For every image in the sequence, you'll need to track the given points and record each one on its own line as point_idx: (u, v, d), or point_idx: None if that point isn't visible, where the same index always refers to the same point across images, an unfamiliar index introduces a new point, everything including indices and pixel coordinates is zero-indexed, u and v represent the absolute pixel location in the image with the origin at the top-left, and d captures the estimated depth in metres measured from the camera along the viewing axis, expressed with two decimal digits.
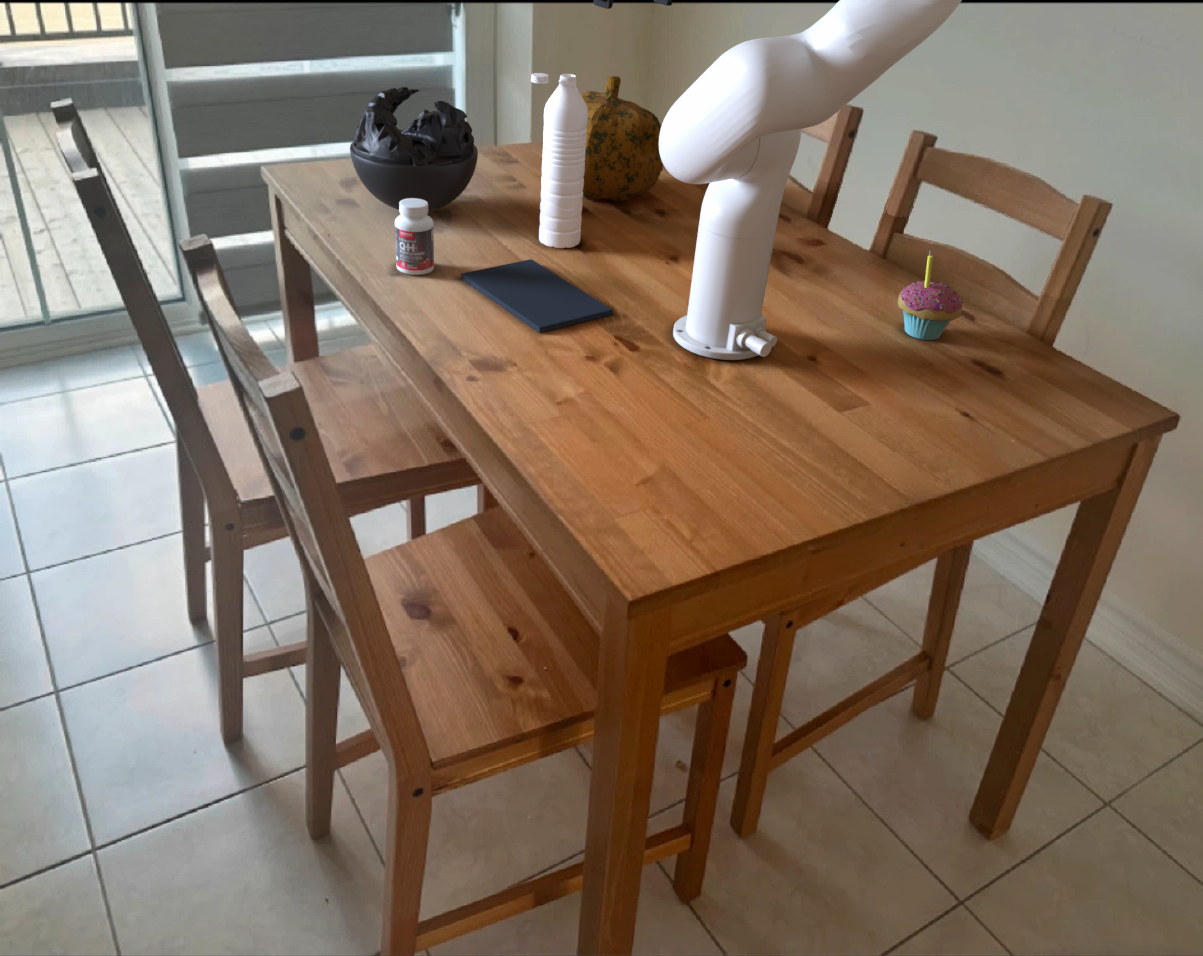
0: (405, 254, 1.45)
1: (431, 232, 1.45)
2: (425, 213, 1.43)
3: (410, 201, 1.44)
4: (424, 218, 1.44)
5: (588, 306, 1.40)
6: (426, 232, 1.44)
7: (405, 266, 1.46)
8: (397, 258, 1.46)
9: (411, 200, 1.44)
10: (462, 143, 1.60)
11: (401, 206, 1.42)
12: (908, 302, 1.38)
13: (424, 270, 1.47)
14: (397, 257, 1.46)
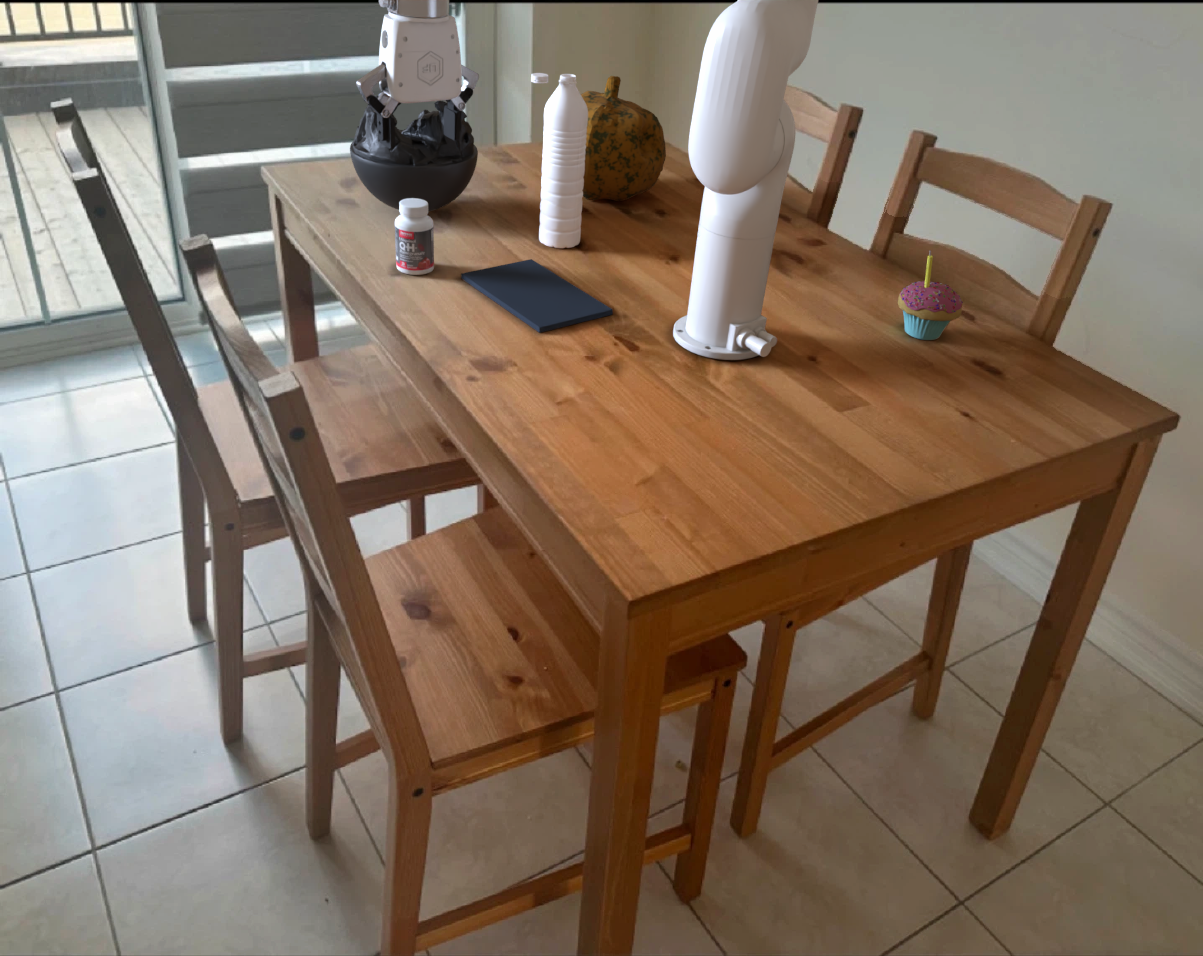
0: (405, 254, 1.45)
1: (431, 232, 1.45)
2: (425, 213, 1.43)
3: (410, 201, 1.44)
4: (424, 218, 1.44)
5: (588, 306, 1.40)
6: (426, 232, 1.44)
7: (405, 266, 1.46)
8: (397, 258, 1.46)
9: (411, 200, 1.44)
10: (462, 143, 1.60)
11: (401, 206, 1.42)
12: (908, 303, 1.38)
13: (424, 270, 1.47)
14: (397, 257, 1.46)
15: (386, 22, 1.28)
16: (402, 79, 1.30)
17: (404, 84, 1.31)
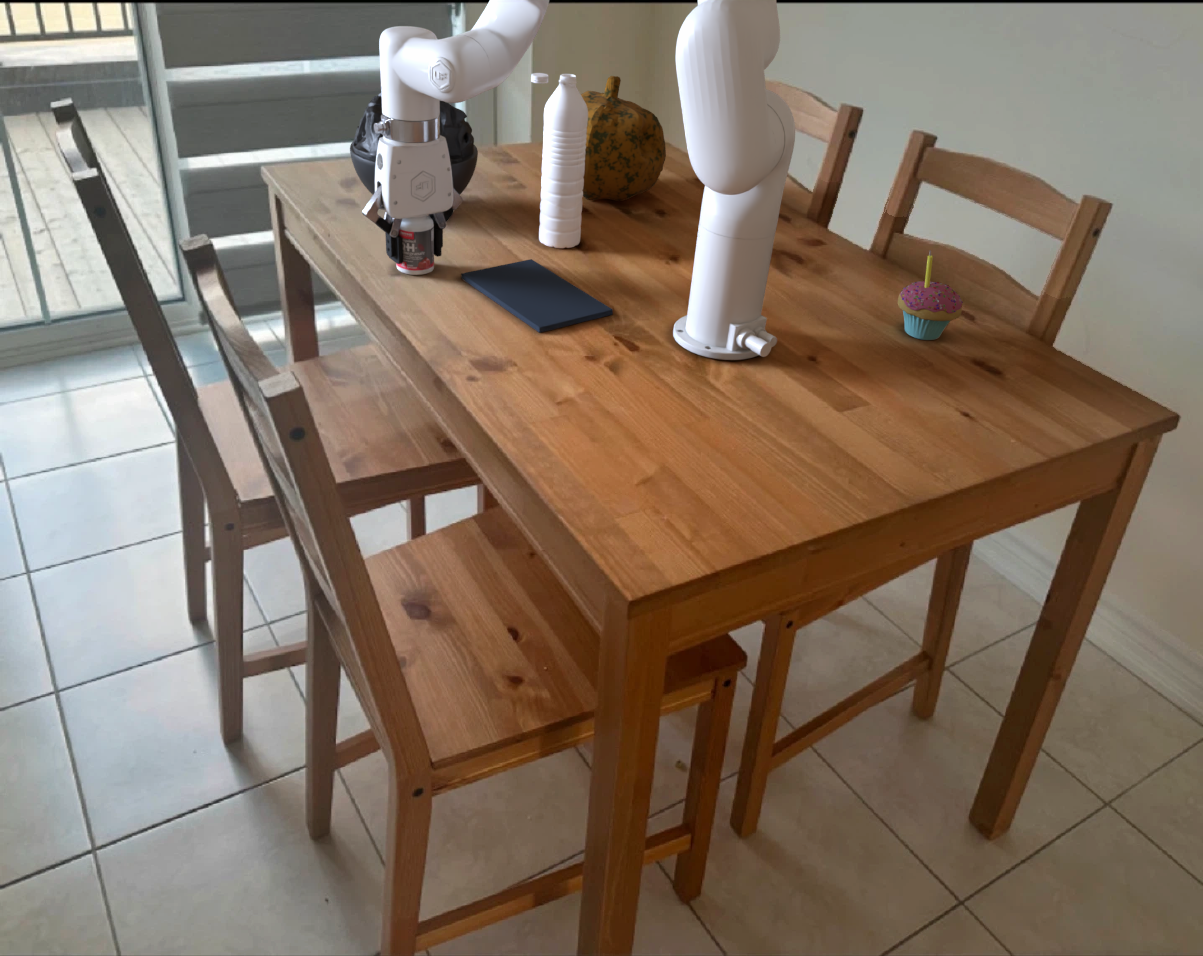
0: (405, 254, 1.45)
1: (431, 232, 1.45)
2: None
3: None
4: (424, 218, 1.44)
5: (588, 306, 1.40)
6: (426, 232, 1.44)
7: (405, 266, 1.46)
8: None
9: None
10: (462, 143, 1.60)
11: None
12: (908, 302, 1.38)
13: (424, 270, 1.47)
14: None
15: (381, 146, 1.36)
16: (397, 198, 1.39)
17: (399, 202, 1.39)
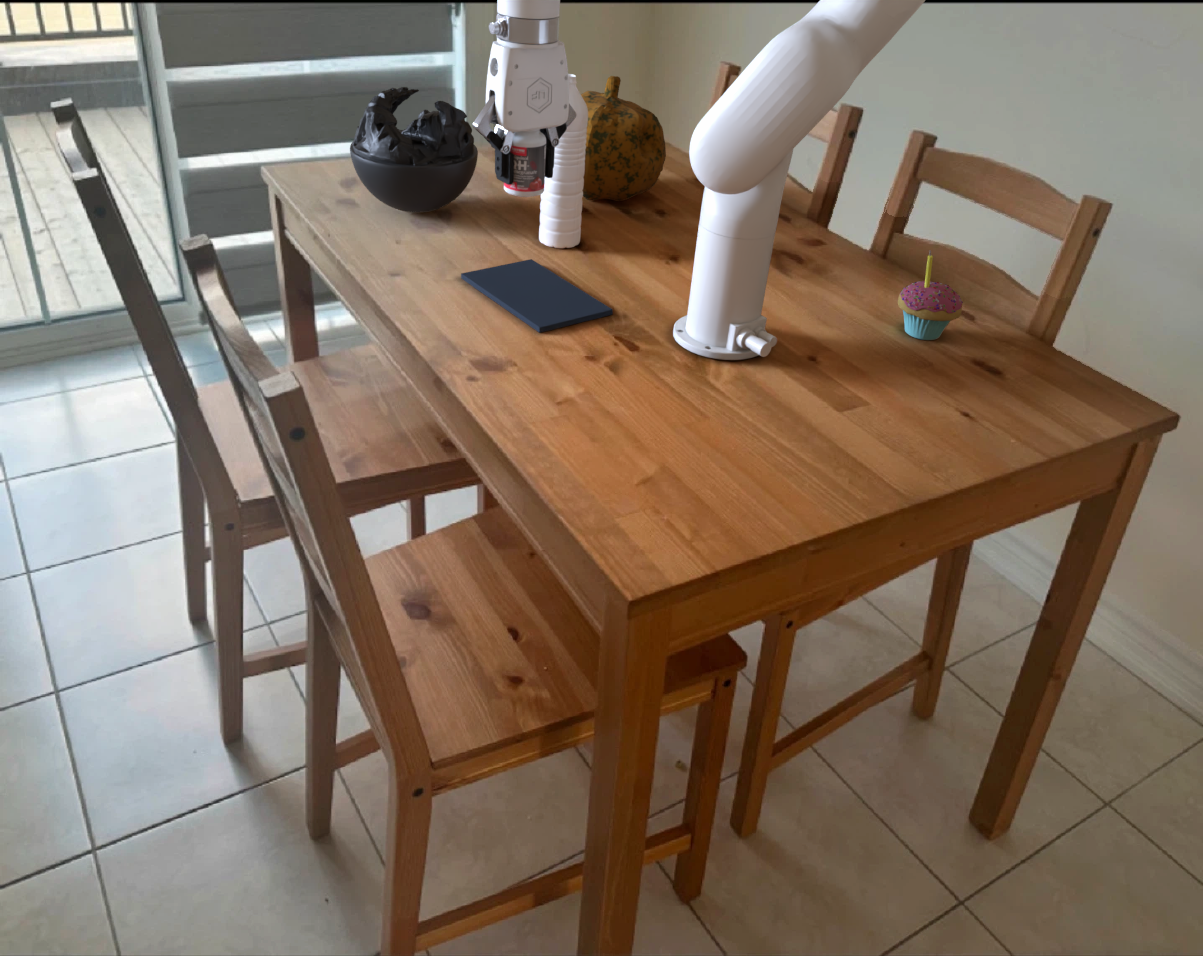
0: (516, 173, 1.33)
1: (544, 149, 1.33)
2: None
3: None
4: (538, 133, 1.32)
5: (588, 306, 1.40)
6: (540, 148, 1.32)
7: (515, 187, 1.34)
8: None
9: None
10: (462, 143, 1.60)
11: None
12: (908, 302, 1.38)
13: (535, 192, 1.34)
14: None
15: (496, 49, 1.24)
16: (512, 107, 1.26)
17: (513, 112, 1.27)
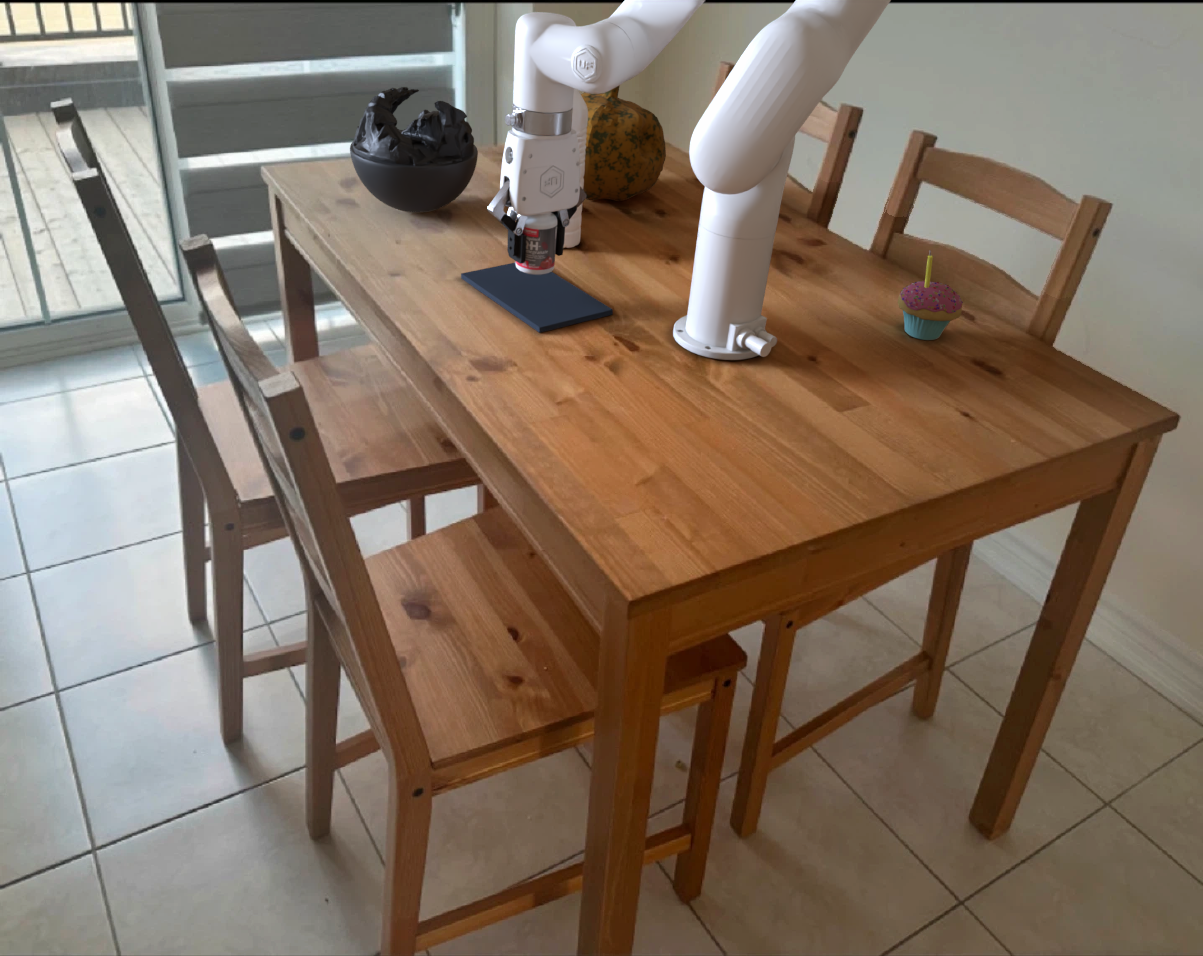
0: (528, 252, 1.38)
1: (555, 230, 1.38)
2: None
3: None
4: (549, 215, 1.37)
5: (588, 306, 1.40)
6: (551, 230, 1.37)
7: (527, 266, 1.39)
8: None
9: None
10: (462, 143, 1.60)
11: None
12: (908, 303, 1.38)
13: (546, 270, 1.40)
14: None
15: (511, 139, 1.29)
16: (525, 194, 1.31)
17: (527, 198, 1.32)
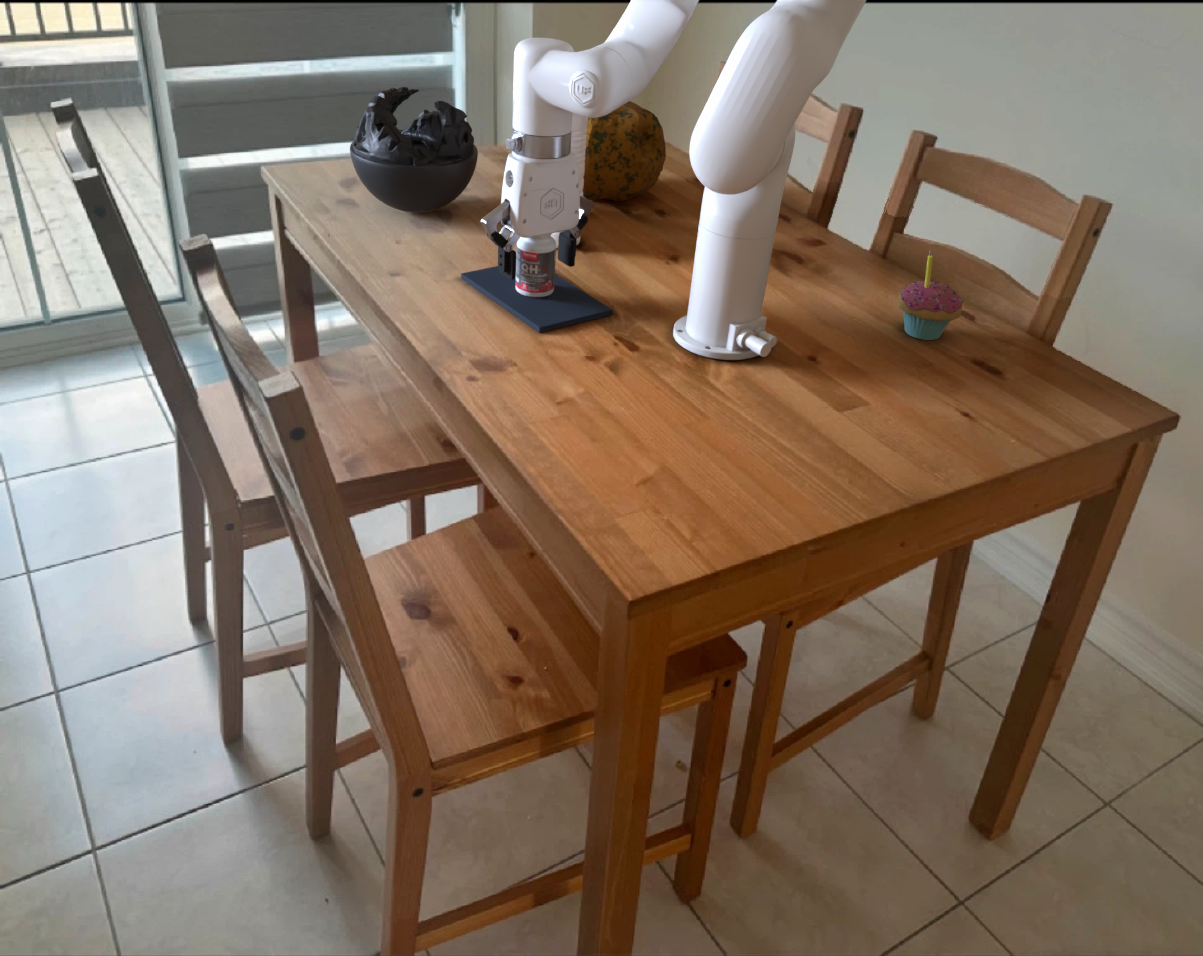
0: (527, 276, 1.40)
1: (554, 253, 1.39)
2: (549, 234, 1.38)
3: None
4: (548, 238, 1.39)
5: (588, 306, 1.40)
6: (550, 253, 1.39)
7: (526, 289, 1.41)
8: (518, 280, 1.41)
9: None
10: (462, 143, 1.60)
11: None
12: (908, 303, 1.38)
13: (545, 292, 1.41)
14: (518, 279, 1.41)
15: (511, 163, 1.31)
16: (526, 216, 1.33)
17: (527, 220, 1.33)
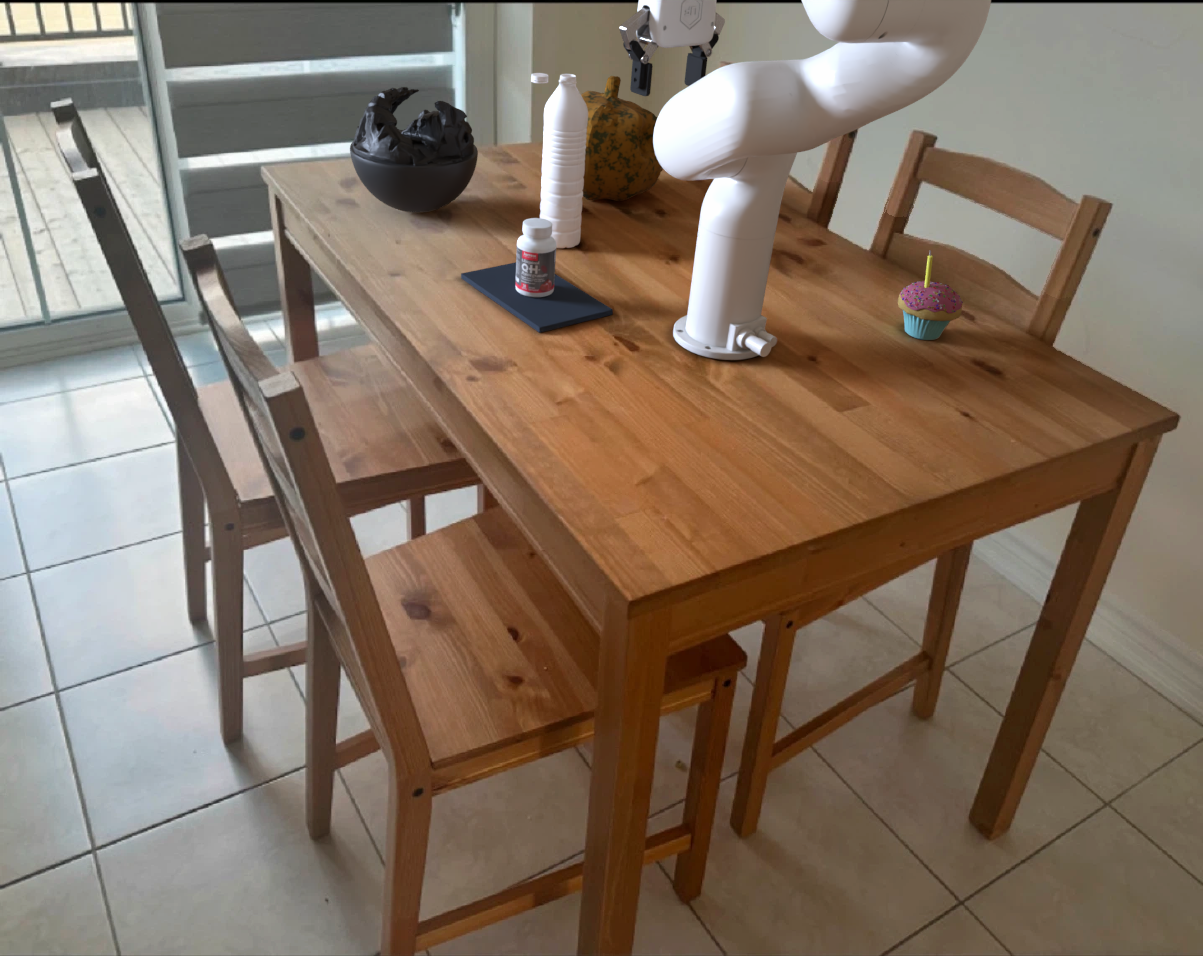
0: (527, 276, 1.40)
1: (554, 253, 1.39)
2: (550, 234, 1.38)
3: (533, 221, 1.38)
4: (548, 239, 1.39)
5: (588, 306, 1.40)
6: (550, 253, 1.39)
7: (526, 289, 1.41)
8: (518, 280, 1.41)
9: (534, 220, 1.39)
10: (462, 143, 1.60)
11: (525, 226, 1.37)
12: (908, 302, 1.38)
13: (545, 292, 1.41)
14: (518, 279, 1.41)
15: None
16: (666, 22, 1.27)
17: (668, 27, 1.28)
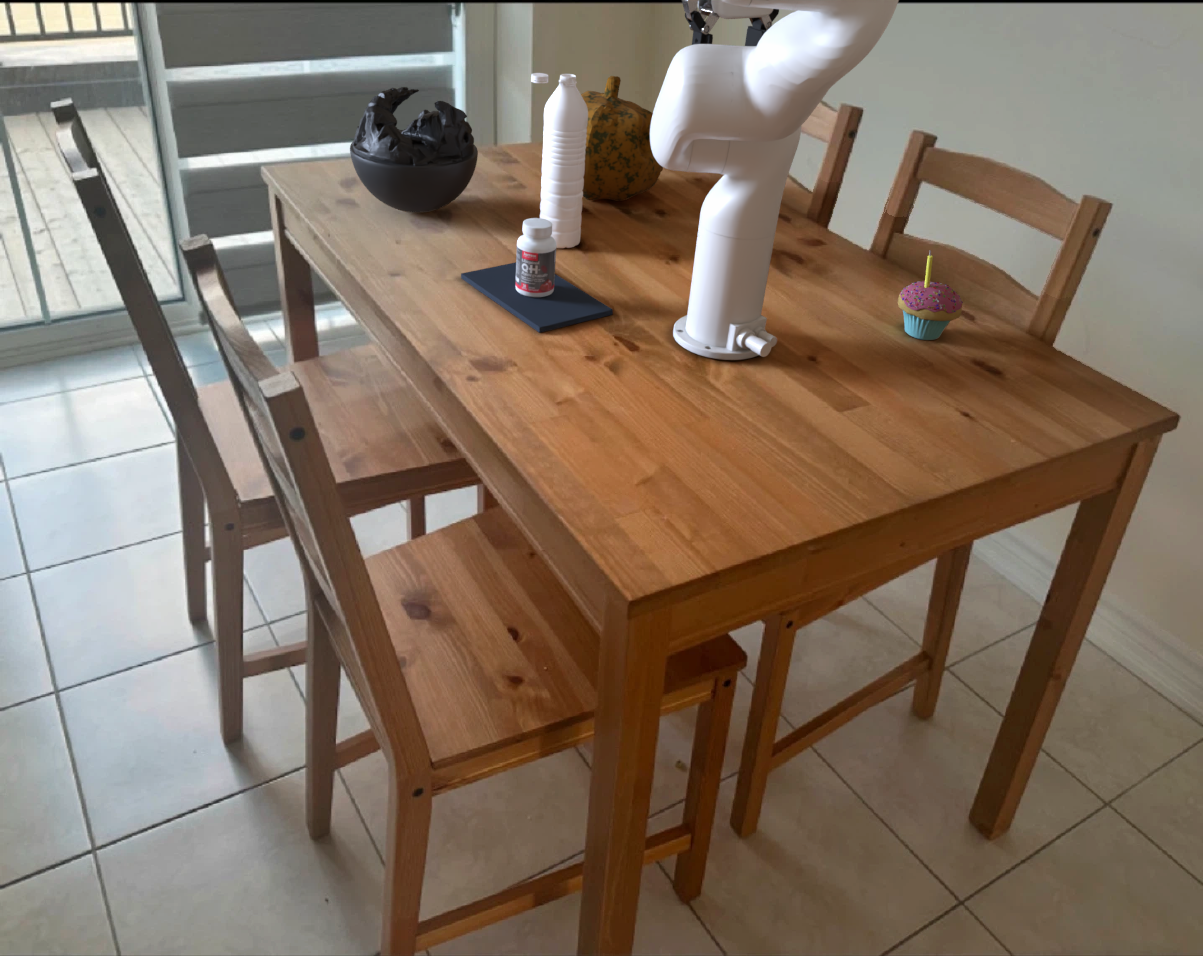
0: (527, 276, 1.40)
1: (554, 253, 1.39)
2: (550, 234, 1.38)
3: (533, 221, 1.38)
4: (548, 239, 1.39)
5: (588, 306, 1.40)
6: (550, 253, 1.39)
7: (526, 289, 1.41)
8: (518, 280, 1.41)
9: (534, 220, 1.39)
10: (462, 143, 1.60)
11: (525, 226, 1.37)
12: (908, 303, 1.38)
13: (545, 292, 1.41)
14: (518, 279, 1.41)
15: None
16: None
17: None
